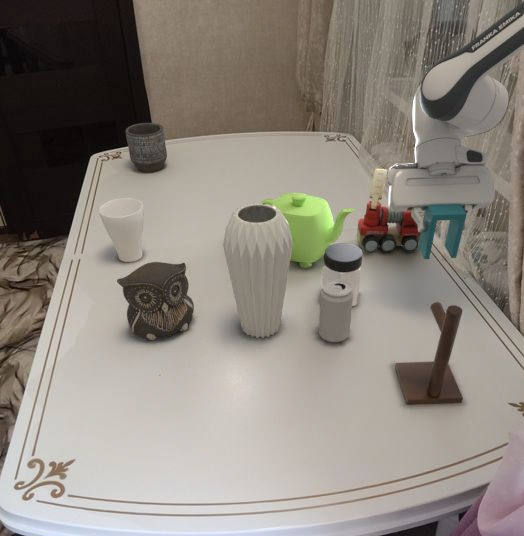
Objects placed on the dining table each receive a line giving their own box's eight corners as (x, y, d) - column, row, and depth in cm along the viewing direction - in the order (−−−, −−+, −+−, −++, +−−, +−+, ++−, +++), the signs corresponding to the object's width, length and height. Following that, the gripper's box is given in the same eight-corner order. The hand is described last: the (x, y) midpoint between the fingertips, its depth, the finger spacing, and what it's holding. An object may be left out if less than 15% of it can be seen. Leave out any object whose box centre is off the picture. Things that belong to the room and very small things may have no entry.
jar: (324, 285, 128) (326, 240, 120) (358, 288, 127) (364, 243, 119) (319, 307, 121) (322, 261, 113) (356, 311, 120) (361, 264, 112)
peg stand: (394, 367, 106) (410, 281, 93) (445, 365, 106) (469, 278, 93) (406, 404, 98) (425, 316, 85) (461, 402, 99) (489, 314, 85)
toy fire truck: (420, 252, 139) (433, 186, 127) (359, 253, 139) (366, 187, 127) (410, 230, 147) (421, 166, 136) (353, 231, 147) (359, 168, 136)
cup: (157, 259, 139) (149, 210, 130) (118, 271, 135) (107, 221, 126) (142, 242, 145) (133, 194, 137) (104, 253, 141) (92, 204, 133)
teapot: (235, 270, 134) (231, 210, 123) (272, 231, 148) (271, 175, 138) (330, 294, 125) (335, 232, 115) (360, 250, 140) (366, 192, 129)
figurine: (135, 351, 111) (121, 291, 101) (121, 313, 121) (107, 255, 111) (203, 333, 115) (196, 273, 105) (184, 298, 125) (176, 240, 115)
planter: (165, 174, 179) (159, 135, 171) (128, 174, 180) (121, 135, 171) (171, 160, 188) (166, 122, 180) (136, 160, 189) (129, 122, 180)
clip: (418, 246, 113) (426, 203, 106) (449, 245, 113) (458, 202, 106) (424, 259, 109) (433, 215, 102) (456, 258, 109) (466, 213, 103)
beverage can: (355, 334, 114) (360, 286, 106) (335, 348, 111) (339, 300, 103) (332, 321, 117) (335, 274, 110) (311, 334, 114) (314, 287, 106)
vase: (285, 305, 122) (286, 194, 105) (296, 342, 112) (299, 227, 95) (226, 311, 121) (217, 200, 104) (232, 349, 111) (224, 234, 94)
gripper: (389, 157, 105) (393, 227, 104) (495, 153, 105) (501, 223, 104) (382, 170, 111) (386, 237, 110) (482, 167, 111) (487, 233, 110)
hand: (442, 230), depth 107 cm, fingers closed on clip, 6 cm apart
